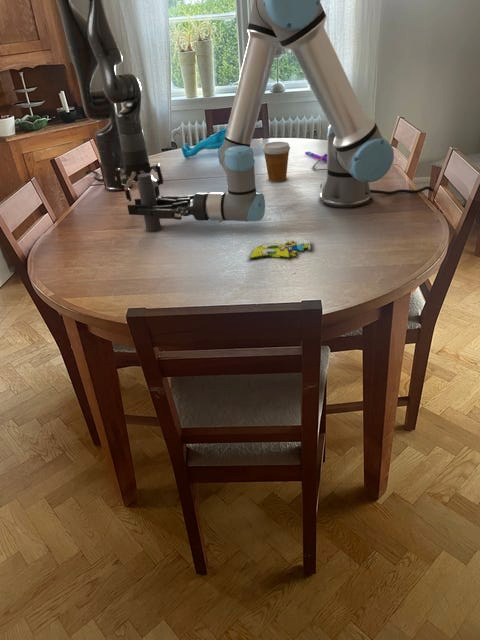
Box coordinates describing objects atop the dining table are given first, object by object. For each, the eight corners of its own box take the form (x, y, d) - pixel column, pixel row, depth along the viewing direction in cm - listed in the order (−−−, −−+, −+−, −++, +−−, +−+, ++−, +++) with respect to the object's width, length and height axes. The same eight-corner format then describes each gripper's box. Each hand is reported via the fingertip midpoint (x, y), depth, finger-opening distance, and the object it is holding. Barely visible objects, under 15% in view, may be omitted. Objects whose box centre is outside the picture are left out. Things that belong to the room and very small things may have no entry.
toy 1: (187, 137, 214) (250, 117, 204) (195, 160, 219) (257, 142, 209) (175, 147, 200) (242, 126, 190) (184, 171, 205) (250, 153, 195)
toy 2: (310, 255, 116) (249, 256, 118) (310, 259, 116) (249, 259, 119) (310, 238, 124) (253, 239, 127) (310, 241, 125) (253, 242, 127)
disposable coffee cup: (260, 182, 170) (258, 147, 164) (269, 174, 177) (267, 141, 171) (286, 183, 167) (285, 148, 160) (294, 175, 174) (293, 141, 168)
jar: (162, 225, 143) (153, 172, 135) (159, 231, 140) (150, 176, 131) (147, 226, 144) (138, 173, 135) (145, 232, 140) (134, 177, 131)
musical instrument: (342, 175, 173) (362, 153, 185) (341, 169, 172) (361, 148, 184) (283, 174, 186) (305, 153, 198) (282, 169, 184) (305, 148, 196)
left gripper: (109, 153, 143) (120, 205, 152) (157, 148, 143) (165, 200, 152) (111, 147, 149) (122, 197, 158) (157, 142, 150) (165, 192, 159)
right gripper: (202, 231, 129) (122, 230, 134) (218, 208, 143) (146, 208, 148) (198, 204, 125) (116, 204, 130) (216, 183, 139) (141, 184, 144)
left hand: (143, 198), depth 155 cm, fingers open, 8 cm apart
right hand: (132, 206), depth 139 cm, fingers closed on jar, 4 cm apart
